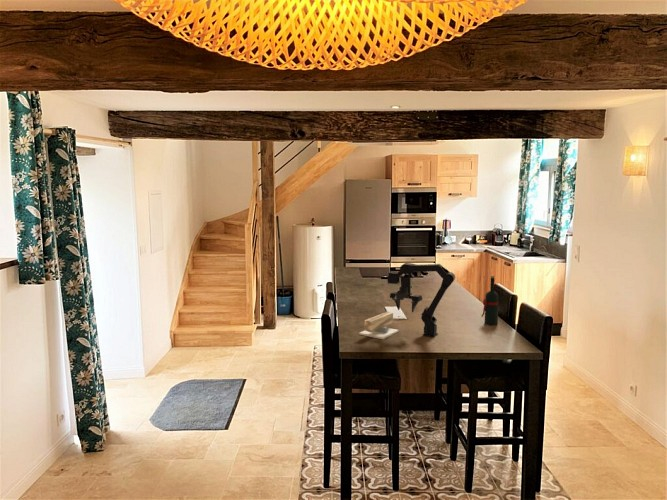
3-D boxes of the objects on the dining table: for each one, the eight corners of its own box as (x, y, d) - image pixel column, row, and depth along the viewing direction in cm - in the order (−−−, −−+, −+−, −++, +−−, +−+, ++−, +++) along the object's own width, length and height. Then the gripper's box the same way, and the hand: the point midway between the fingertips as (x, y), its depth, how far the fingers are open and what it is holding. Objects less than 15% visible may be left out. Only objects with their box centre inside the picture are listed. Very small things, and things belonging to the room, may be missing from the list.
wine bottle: (478, 322, 320) (480, 275, 316) (494, 321, 322) (495, 274, 317) (484, 325, 312) (485, 277, 308) (499, 325, 314) (501, 276, 310)
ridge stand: (398, 331, 302) (398, 325, 302) (382, 339, 288) (382, 332, 288) (376, 327, 312) (376, 320, 311) (359, 334, 298) (359, 327, 297)
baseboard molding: (401, 308, 359) (384, 308, 359) (401, 304, 359) (384, 304, 358) (409, 320, 328) (390, 320, 328) (409, 316, 328) (390, 316, 328)
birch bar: (393, 322, 307) (393, 312, 307) (371, 332, 289) (371, 321, 288) (386, 321, 310) (386, 311, 309) (364, 330, 291) (364, 320, 290)
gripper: (384, 285, 296) (384, 311, 298) (413, 289, 285) (413, 316, 287) (394, 282, 305) (394, 307, 307) (422, 285, 294) (422, 312, 296)
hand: (405, 311), depth 299 cm, fingers open, 9 cm apart
